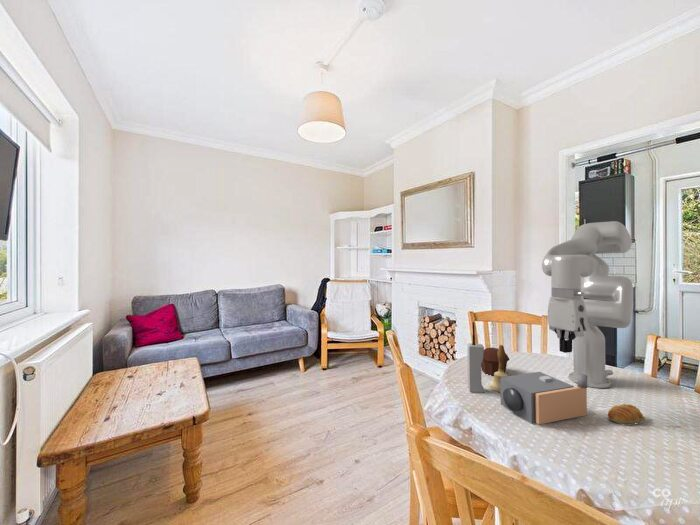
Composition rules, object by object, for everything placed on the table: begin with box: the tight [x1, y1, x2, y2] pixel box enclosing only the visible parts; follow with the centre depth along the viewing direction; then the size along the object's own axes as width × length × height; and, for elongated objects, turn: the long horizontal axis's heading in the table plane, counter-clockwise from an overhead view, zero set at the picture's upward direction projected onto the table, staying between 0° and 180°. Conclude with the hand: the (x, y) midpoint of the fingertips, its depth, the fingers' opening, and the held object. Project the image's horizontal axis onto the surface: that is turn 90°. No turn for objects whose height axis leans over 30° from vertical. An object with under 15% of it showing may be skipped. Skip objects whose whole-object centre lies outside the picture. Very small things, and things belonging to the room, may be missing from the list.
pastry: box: [606, 403, 646, 425], centre depth 87 cm, size 9×7×4 cm
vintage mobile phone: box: [466, 321, 485, 394], centre depth 108 cm, size 4×5×25 cm
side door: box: [535, 374, 588, 425], centre depth 87 cm, size 18×2×12 cm, turn 105°
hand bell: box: [488, 344, 509, 393], centre depth 109 cm, size 8×8×16 cm
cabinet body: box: [500, 371, 575, 425], centre depth 94 cm, size 18×12×10 cm
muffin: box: [481, 347, 510, 377], centre depth 124 cm, size 12×11×10 cm
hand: (565, 351), depth 94 cm, fingers closed
